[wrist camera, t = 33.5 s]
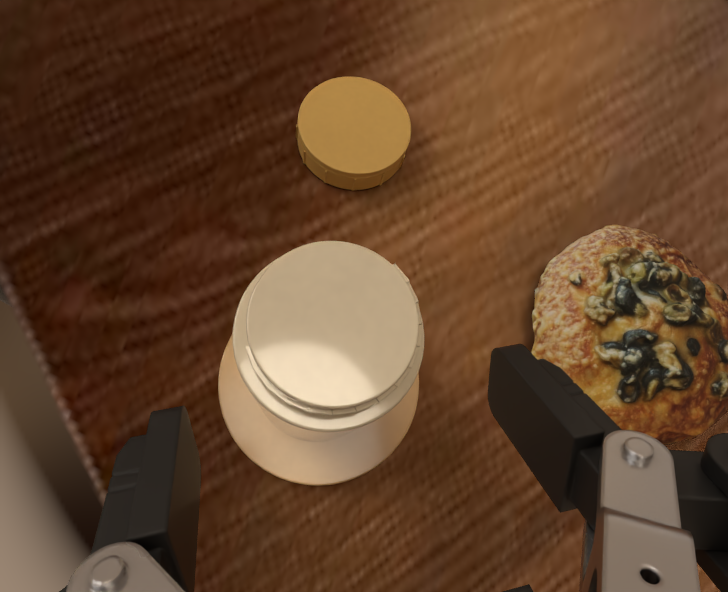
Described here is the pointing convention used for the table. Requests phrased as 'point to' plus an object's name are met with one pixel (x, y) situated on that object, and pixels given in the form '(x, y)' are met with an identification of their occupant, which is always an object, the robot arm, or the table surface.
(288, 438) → the coaster
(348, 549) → the table surface
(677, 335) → the bread roll
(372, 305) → the jar
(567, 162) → the table surface
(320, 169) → the lid
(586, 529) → the robot arm
